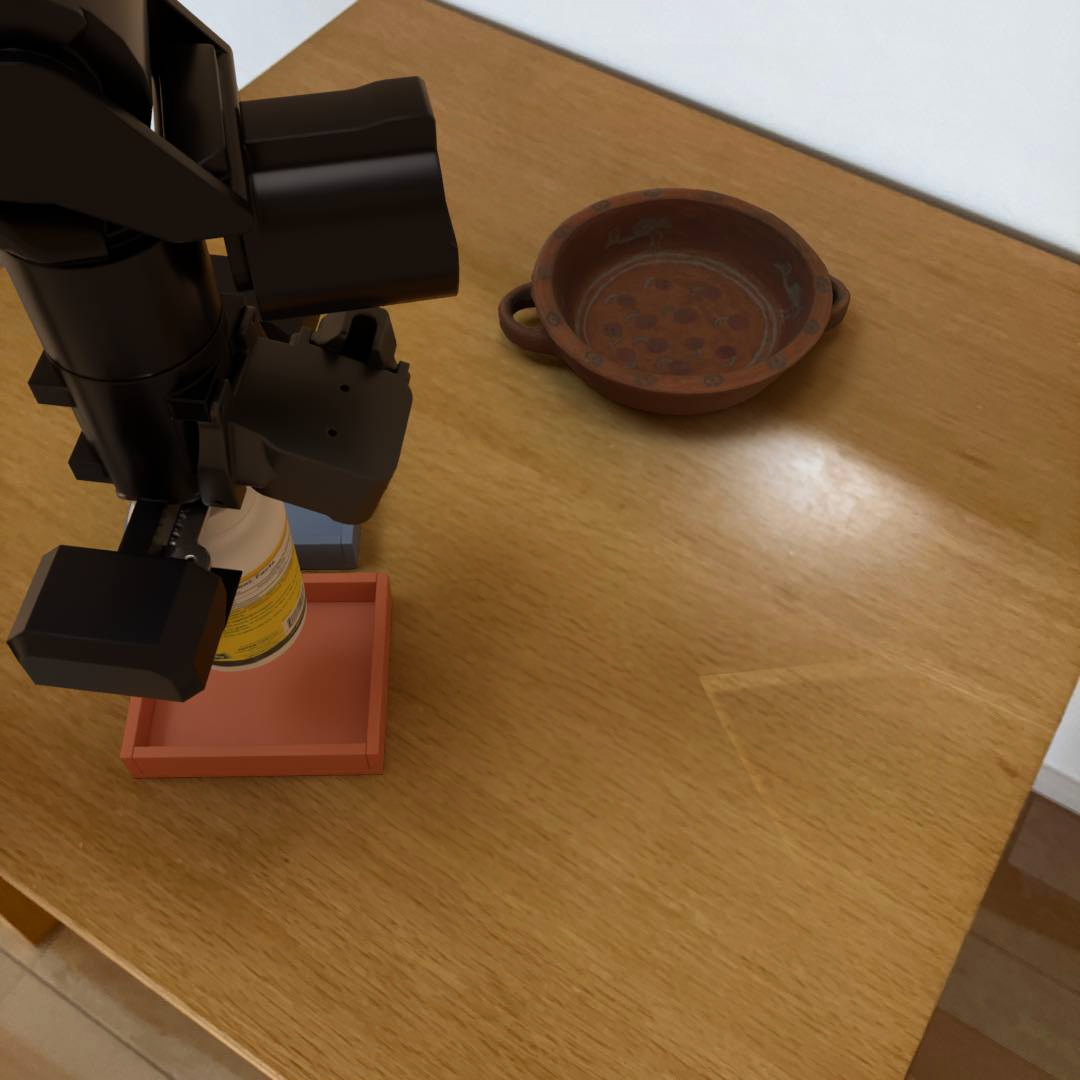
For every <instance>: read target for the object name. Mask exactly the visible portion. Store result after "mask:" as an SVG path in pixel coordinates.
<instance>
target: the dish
mask: <svg viewBox="0 0 1080 1080" xmlns="http://www.w3.org/2000/svg"><path fill="white" fill-rule="evenodd" d="M530 278H531V279H530V280H531V281H528V282H524V283H523V284H519V285H518V286H515V287H514V288H513V289H511V290H509V291H508V292H506V294H505V295H503V297H502V298H501V300H500V302H499V305H498V308H497V313H498V314H497V315H498V319H499V320H498V324H499V327H500V329H501V331H502V333H503V334H504V336H505V337H506V338H507V340H508V341H510V342H511V344H513V345H515V346H516V347H518V348H520V349H521V350H523V351H526V352H531V353H535V354H539V355H543V356H548V357H552V358H557V359H559V360H562V361H563V362H565V363H566V364H567V365H568V366H569V367H570V368H571V370H573V371H574V373H576V375H578V376H579V377H580V378H581V379H582V380H583V381H584V382H585V383H586V384H588V385H589V386H591V387H592V388H593V389H594V390H596V391H597V392H599V393H600V394H601V395H603V396H605V397H607V398H609V399H610V400H612V401H614V402H617V403H619V404H621V405H624V406H627V407H631V408H633V409H636V410H640V411H642V412H643V411H644V412H649V413H654V414H662V415H670V416H671V415H672V416H691V415H692V416H693V415H703V414H704V415H705V414H710V413H715V412H718V411H722V410H726V409H729V408H732V407H735V406H737V405H739V404H741V403H743V402H745V401H747V400H749V399H751V398H753V397H754V396H756V395H758V394H759V393H761V392H762V391H763V390H764V389H766V388H767V387H768V386H770V385H771V384H772V383H773V382H775V381H776V380H777V379H778V378H779V377H780V376H781V375H782V374H783V373H784V372H785V371H787V370H789V369H790V368H792V367H793V366H795V364H797V363H798V362H799V361H801V360H802V359H804V357H805V356H807V355H808V353H810V351H811V350H812V349H813V348H814V347H815V346H816V344H817V343H818V341H819V340H820V338H821V337H822V335H823V334H824V333H827V332H829V331H832V330H834V329H835V328H837V327H838V326H839V325H840V324H841V323H843V321H844V319H845V317H846V314H847V312H848V309H849V306H850V302H851V293H850V291H849V289H848V288H847V286H846V285H845V284H844V282H842V281H841V280H840V279H839V278H837V277H835V276H834V275H832V274H831V273H829V270H828V268H827V266H826V264H825V263H824V261H823V260H822V259H821V257H820V256H819V254H818V253H817V252H816V251H815V250H814V248H813V247H812V246H811V245H810V244H809V243H808V242H807V241H806V240H805V238H803V236H802V235H800V234H799V232H797V231H796V230H795V229H794V228H793V227H792V226H790V225H789V224H788V223H786V222H785V221H784V220H783V219H781V218H780V217H779V216H777V215H775V214H774V213H773V212H771V211H768V210H765V209H763V208H761V207H760V206H757V205H755V204H753V203H750V202H748V201H746V200H743V199H741V198H738V197H736V196H732V195H728V194H725V193H721V192H719V191H713V190H708V189H701V188H700V189H699V188H686V187H685V188H683V187H660V188H650V189H649V188H648V189H641V190H640V189H639V190H633V191H629V192H624V193H620V194H616V195H613V196H610V197H606V198H603V199H600V200H598V201H596V202H593V203H591V204H589V205H588V206H586V207H584V208H582V209H580V210H578V211H576V212H574V213H573V214H572V215H570V216H569V217H567V218H566V219H564V220H563V221H562V222H561V223H560V224H559V225H558V226H557V227H556V228H555V229H553V231H551V233H550V234H549V235H547V238H546V240H545V241H544V242H543V244H542V246H541V247H540V250H539V252H538V254H537V257H536V260H535V263H534V267H533V270H532V271H531V277H530ZM532 308H533V309H534V308H535V312H536V315H537V316H538V318H539V320H540V322H541V323H542V325H541V326H540V327H536V328H535V327H529V326H526V325H525V324H522V323H521V322H519V321H517V320H516V319H515V317H514V315H515V314H516V313H517V312H519V311H522V310H525V309H532Z"/></svg>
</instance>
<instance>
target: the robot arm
mask: <svg viewBox="0 0 1080 1080" xmlns="http://www.w3.org/2000/svg"><path fill="white" fill-rule="evenodd" d="M234 58H235V57H234V51H233V49H232V47H231V46H230V44H229V43H227V42H226V41H225V40H224V39H223V38H222V37H220V36H219V34H217V33H216V32H215V31H214V30H213V29H212V28H210V27H209V26H208V25H207V24H206V23H204V22H203V20H202V19H200V18H198V16H196V15H195V14H194V13H193V12H192V11H190V9H188V7H186V6H185V5H184V4H183V3H182V2H180V1H179V0H0V260H1V262H2V264H3V265H4V268H5V270H6V272H7V274H8V276H9V278H10V280H11V282H12V285H13V287H14V289H15V292H16V293H17V295H18V297H19V300H20V301H21V304H22V306H23V309H24V311H25V312H26V314H27V316H28V319H29V321H30V323H31V326H32V327H33V330H34V331H35V334H36V336H37V337H38V340H39V342H40V344H41V347H42V349H43V350H42V352H41V354H40V356H39V358H38V360H37V362H36V364H35V366H34V368H33V370H32V373H31V375H30V377H29V379H28V381H27V385H28V387H29V389H30V391H31V393H32V396H33V397H34V398H35V401H36V403H37V404H38V405H46V406H56V407H64V408H65V407H66V408H70V409H71V410H72V414H74V417H75V419H76V421H77V423H78V426H79V428H80V429H81V431H80V433H79V435H78V437H77V440H76V443H75V445H74V447H73V449H72V451H71V453H70V457H69V458H68V461H67V464H68V466H69V468H70V470H71V472H72V474H73V475H74V478H75V480H76V481H83V482H90V483H91V482H92V483H101V484H111V485H113V486H114V487H115V493H116V496H117V498H118V499H120V500H121V501H129V502H130V501H136V504H135V507H134V509H133V512H132V514H131V517H130V520H129V522H128V525H127V527H126V530H125V533H124V532H123V534H124V535H122V538H121V541H120V543H119V546H118V549H117V550H109V549H102V548H100V549H99V548H95V547H94V548H92V547H86V546H85V547H84V546H76V545H68V544H58V545H57V546H55V547H54V548H53V549H51V550H49V551H47V552H46V553H45V554H43V555H42V556H41V558H40V561H39V563H38V566H37V568H36V570H35V573H34V575H33V577H32V579H31V582H30V584H29V586H28V589H27V591H26V593H25V596H24V598H23V601H22V602H21V606H20V607H19V610H18V612H17V615H16V617H15V620H14V622H13V624H12V625H11V629H10V631H9V633H8V636H7V638H6V641H5V643H6V644H7V646H8V648H9V649H10V651H11V652H12V654H13V656H14V657H15V659H16V660H17V663H18V664H19V665H20V666H21V667H22V669H23V670H24V671H25V673H26V674H27V675H28V677H29V678H30V680H31V681H32V682H33V684H34V685H36V686H44V687H52V688H60V689H69V690H76V691H84V692H91V693H92V692H93V693H100V694H110V695H116V696H125V697H131V696H133V697H141V698H150V699H158V700H166V701H174V702H182V703H184V702H185V701H187V700H189V699H190V698H192V697H193V696H195V695H197V694H198V693H200V692H202V691H203V690H205V687H206V683H207V680H208V677H209V674H210V671H211V667H212V664H213V661H214V658H215V654H216V651H217V648H218V645H219V641H220V638H221V635H222V632H223V631H224V629H225V627H226V625H227V622H228V618H229V615H230V612H231V609H232V606H233V602H234V599H235V596H236V593H237V589H238V586H239V583H240V580H241V576H242V573H243V571H241V570H233V569H225V568H216V567H212V559H211V556H210V554H209V552H208V550H207V549H206V548H204V547H203V546H201V545H200V541H201V538H202V535H203V532H204V529H205V527H206V524H207V521H208V518H209V515H210V512H211V509H212V507H219V508H228V509H236V510H240V509H241V507H242V503H243V500H244V497H245V494H246V491H247V488H246V486H250V487H252V488H253V489H254V490H255V491H256V492H258V493H260V494H261V495H264V496H267V497H269V498H272V499H276V500H279V501H282V502H285V503H289V504H292V505H295V506H298V507H301V508H305V509H308V510H311V511H314V512H317V513H321V514H324V515H327V516H328V517H330V518H331V519H332V520H333V521H336V522H339V523H342V524H347V525H358V524H361V525H362V524H365V523H366V522H368V521H369V520H370V519H371V518H372V517H373V515H374V514H375V512H376V510H377V509H378V506H379V504H380V502H381V500H382V498H383V496H384V494H385V492H386V490H387V488H388V487H389V484H390V482H391V480H392V478H393V476H394V474H395V472H396V471H397V468H398V465H399V462H400V457H401V452H402V449H403V445H404V440H405V436H406V431H407V427H408V423H409V419H410V415H411V410H412V406H413V401H414V396H413V391H412V388H411V386H410V382H411V373H410V372H409V370H410V367H411V364H410V363H409V362H406V361H404V360H399V361H398V362H397V360H396V357H395V354H396V352H397V351H396V350H397V346H398V344H397V343H398V342H397V339H396V335H395V331H394V328H393V324H392V321H391V316H390V314H389V311H388V310H387V309H386V308H383V307H386V306H395V305H401V304H409V303H410V304H411V303H417V302H424V301H431V300H438V299H445V298H446V299H447V298H452V297H457V296H458V294H459V289H460V256H459V247H458V241H457V237H456V234H455V230H454V225H453V222H452V218H451V215H450V211H449V207H448V203H447V201H446V192H445V184H444V180H443V178H444V177H443V173H442V167H441V163H440V156H439V151H438V139H437V137H438V136H437V121H436V117H435V112H434V109H433V106H432V102H431V99H430V95H429V91H428V87H427V84H426V81H425V80H424V79H423V78H422V77H420V76H418V75H412V76H411V75H410V76H402V77H401V76H400V77H393V78H384V79H379V80H375V81H372V82H368V83H366V84H363V85H360V86H356V87H353V88H348V89H340V90H331V91H330V90H329V91H323V92H321V91H320V92H314V93H305V94H304V93H303V94H295V95H285V96H277V97H267V98H259V99H251V100H241V95H240V91H239V86H238V82H237V81H238V80H237V74H236V67H235V66H236V65H235V59H234ZM152 119H153V120H152ZM152 121H153V129H152ZM215 239H223V242H224V247H225V250H226V251H225V252H226V255H223V254H212V253H210V252H209V248H208V245H207V244H208V243H207V241H208V240H215ZM206 240H207V241H206ZM322 315H324V316H323V317H322V318H321V316H322ZM320 318H321V319H320ZM182 511H183V512H182ZM179 520H180V521H179ZM176 529H178V530H176ZM172 538H174V539H172Z"/></svg>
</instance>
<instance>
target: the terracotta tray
mask: <svg viewBox="0 0 1080 1080" xmlns="http://www.w3.org/2000/svg"><path fill="white" fill-rule="evenodd" d="M301 575H302V579H303V583H304V588H305V593H306V599H307V611H306V617H305V621H304V624H303V627H302V629H301V631H300V633H299V635H298V637H297V638H296V640H295V641H294V643H293V644H292V645H291V646H290V647H289V648H288V649H287V650H286V651H285V652H284V653H283V654H281V655H280V656H279V657H277V658H276V659H274V660H272V661H271V662H269V663H267V664H265V665H262V666H260V667H257V668H253V669H249V670H243V671H232V672H228V671H218V670H213V669H211V671H210V674H209V677H208V680H207V683H206V687H205V690H203V691H202V692H200V693H198V694H197V695H195V696H193V697H192V698H190V699H189V700H187V701H185V702H184V703H182V702H174V701H166V700H158V699H150V698H141V697H133V696H130V699H129V704H128V710H127V715H126V721H125V725H124V731H123V736H122V742H121V747H120V753H119V759H120V761H121V762H122V764H123V765H124V767H125V768H126V769H127V771H128V772H129V774H130V775H131V777H132V778H133V779H149V778H150V779H153V778H155V779H156V778H157V779H158V778H217V777H219V778H220V777H270V776H271V777H277V776H279V777H281V776H338V775H342V776H343V775H344V776H345V775H383V774H384V765H385V764H384V762H385V744H386V743H385V742H386V726H387V725H386V723H387V706H388V704H387V703H388V685H389V669H390V651H391V650H390V648H391V631H392V629H391V628H392V612H393V611H392V610H393V593H392V587H391V581H390V576H389V573H388V572H323V573H322V572H320V573H319V572H318V573H317V572H315V573H313V572H312V573H311V572H310V573H308V572H307V573H305V572H303V573H301Z"/></svg>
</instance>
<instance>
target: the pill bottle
mask: <svg viewBox="0 0 1080 1080" xmlns="http://www.w3.org/2000/svg"><path fill="white" fill-rule="evenodd" d="M246 488H247V491H246V494H245V497H244V500H243V503H242V507H241V509H240V510H236V509H228V508H219V507H212V509H211V512H210V515H209V518H208V521H207V524H206V527H205V529H204V532H203V535H202V538H201V541H200V545H201V546H203V547H204V548H206V549H207V550H208V552H209V554H210V556H211V559H212V567H216V568H225V569H233V570H241V571H243V573H242V576H241V580H240V583H239V586H238V589H237V593H236V596H235V599H234V602H233V606H232V609H231V612H230V615H229V618H228V622H227V625H226V627H225V629H224V631H223V632H222V635H221V638H220V641H219V645H218V648H217V651H216V654H215V658H214V661H213V664H212V667H211V669H213V670H218V671H228V672H232V671H243V670H249V669H253V668H257V667H260V666H262V665H265V664H267V663H269V662H271V661H272V660H274V659H276V658H277V657H279V656H280V655H281V654H283V653H284V652H285V651H286V650H287V649H288V648H289V647H290V646H291V645H292V644H293V643H294V641H295V640H296V638H297V637H298V635H299V633H300V631H301V629H302V627H303V624H304V621H305V617H306V611H307V599H306V593H305V588H304V583H303V579H302V575H301V574H302V571H301V569H300V567H299V563H298V559H297V555H296V551H295V547H294V543H293V539H292V535H291V531H290V526H289V522H288V518H287V514H286V510H285V506H284V503H283V502H282V501H279V500H276V499H272V498H269V497H267V496H264V495H261V494H260V493H258V492H256V491H255V490H254V489H253V488H252V487H250V486H246ZM135 504H136V501H132V505H131V507H130V511H129V515H128V514H127V515H128V522H129V520H130V517H131V514H132V512H133V509H134V507H135ZM182 512H183V511H182ZM179 521H180V520H179ZM127 525H128V524H127ZM176 530H178V529H176ZM172 539H174V538H172Z"/></svg>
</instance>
